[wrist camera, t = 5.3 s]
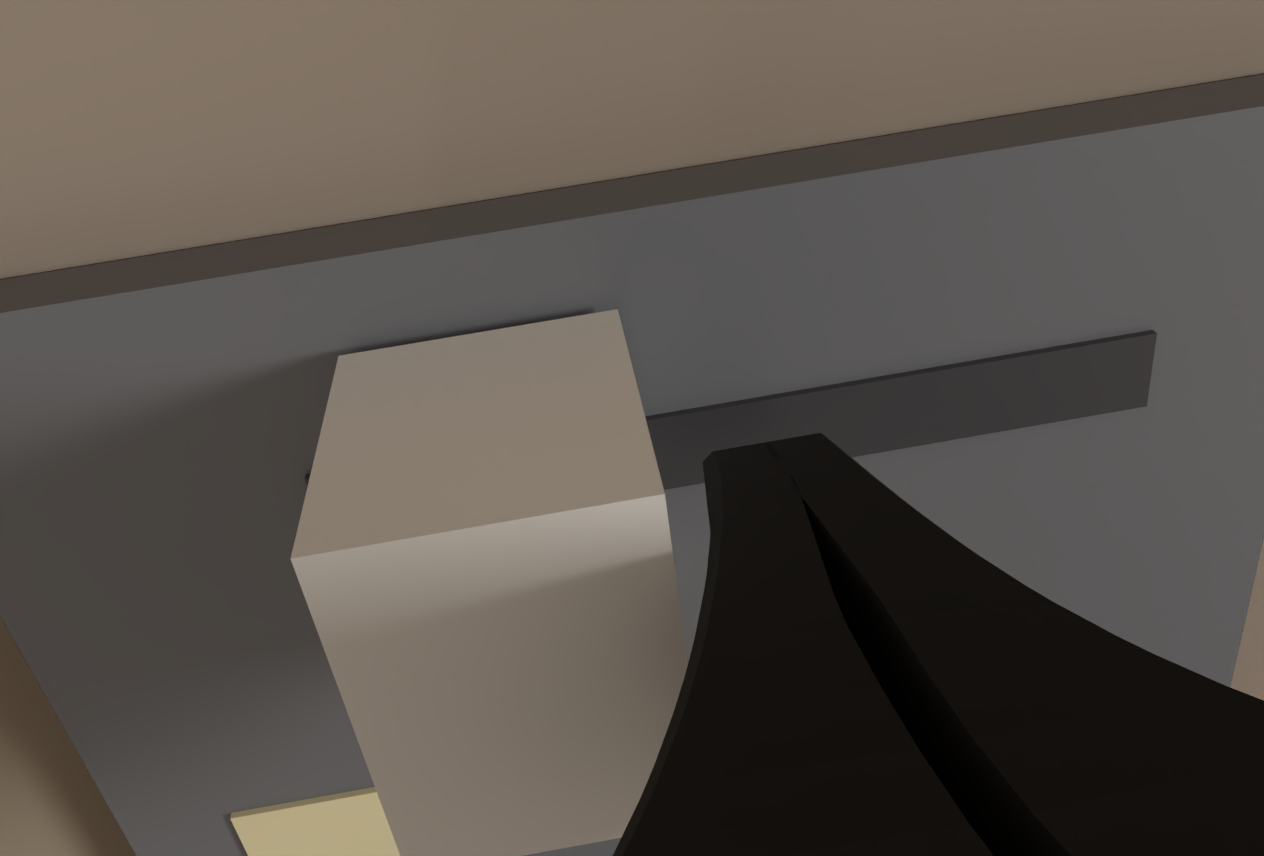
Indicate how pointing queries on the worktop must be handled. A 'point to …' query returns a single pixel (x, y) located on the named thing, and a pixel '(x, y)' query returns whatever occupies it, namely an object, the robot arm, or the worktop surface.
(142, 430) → the breaker panel
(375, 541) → the handle
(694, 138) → the worktop surface
